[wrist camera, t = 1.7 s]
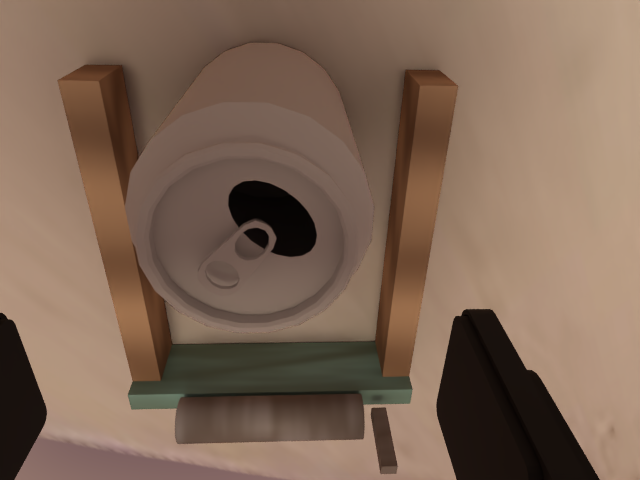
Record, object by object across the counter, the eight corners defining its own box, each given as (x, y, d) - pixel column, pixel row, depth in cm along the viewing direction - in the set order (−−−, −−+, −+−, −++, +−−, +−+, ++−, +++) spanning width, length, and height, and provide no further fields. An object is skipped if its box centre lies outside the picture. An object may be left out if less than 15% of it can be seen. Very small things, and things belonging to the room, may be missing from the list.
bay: (85, 64, 22) (-21, 124, 14) (439, 70, 23) (510, 129, 15) (150, 365, 31) (107, 492, 24) (396, 361, 32) (426, 483, 25)
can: (375, 121, 24) (438, 253, 13) (270, 216, 26) (256, 389, 16) (263, -1, 21) (234, 50, 10) (157, 119, 23) (49, 256, 13)
